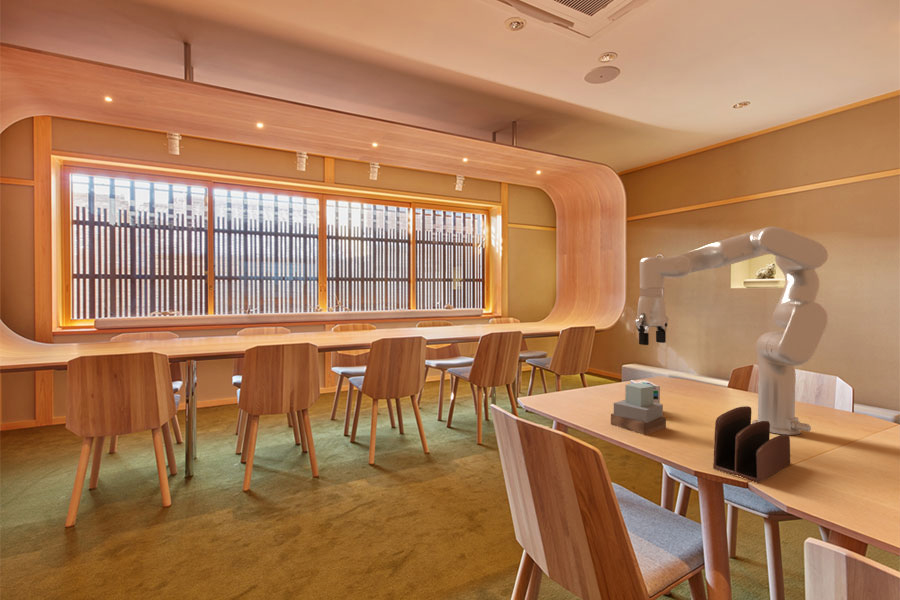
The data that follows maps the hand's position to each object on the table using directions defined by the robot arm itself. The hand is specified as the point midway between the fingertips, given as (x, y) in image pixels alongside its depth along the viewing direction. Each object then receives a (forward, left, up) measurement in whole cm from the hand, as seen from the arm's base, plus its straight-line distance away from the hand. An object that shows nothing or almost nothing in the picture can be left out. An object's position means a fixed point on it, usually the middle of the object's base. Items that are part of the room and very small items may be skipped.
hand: (652, 343), depth 143 cm
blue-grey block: (-1, +8, -19) cm, 21 cm away
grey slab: (-1, +8, -23) cm, 25 cm away
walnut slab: (-1, +8, -27) cm, 29 cm away
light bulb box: (+9, -9, -27) cm, 30 cm away
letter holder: (-36, +12, -27) cm, 47 cm away
